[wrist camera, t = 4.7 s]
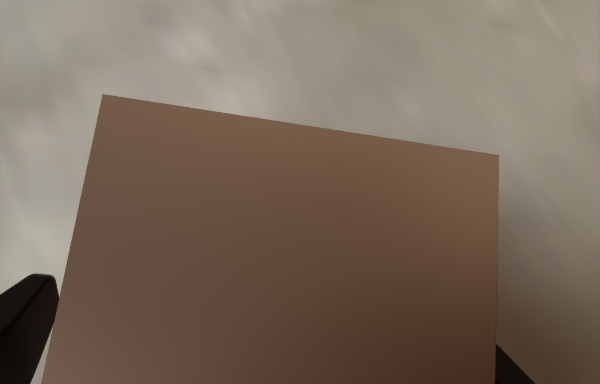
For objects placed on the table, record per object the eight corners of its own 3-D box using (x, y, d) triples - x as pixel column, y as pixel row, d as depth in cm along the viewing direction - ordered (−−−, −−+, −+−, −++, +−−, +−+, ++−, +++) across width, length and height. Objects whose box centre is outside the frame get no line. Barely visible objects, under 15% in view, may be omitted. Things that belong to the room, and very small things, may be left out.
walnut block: (305, 356, 17) (491, 598, 5) (180, 345, 17) (-3, 587, 4) (317, 234, 18) (499, 155, 6) (199, 219, 18) (102, 94, 5)
